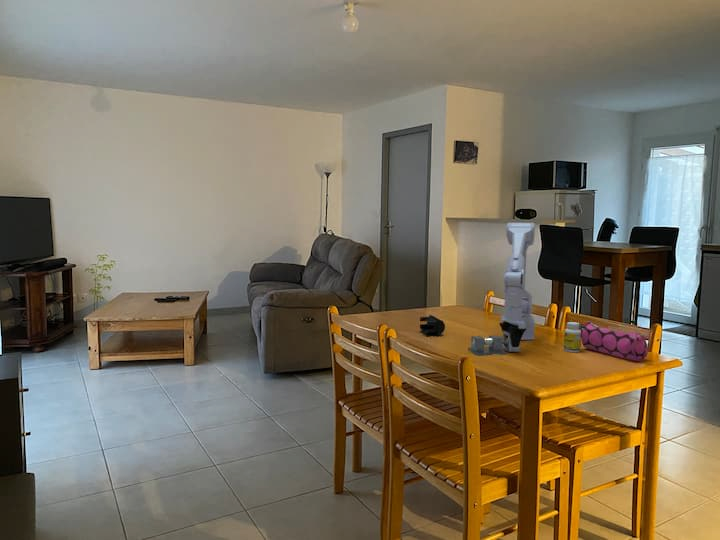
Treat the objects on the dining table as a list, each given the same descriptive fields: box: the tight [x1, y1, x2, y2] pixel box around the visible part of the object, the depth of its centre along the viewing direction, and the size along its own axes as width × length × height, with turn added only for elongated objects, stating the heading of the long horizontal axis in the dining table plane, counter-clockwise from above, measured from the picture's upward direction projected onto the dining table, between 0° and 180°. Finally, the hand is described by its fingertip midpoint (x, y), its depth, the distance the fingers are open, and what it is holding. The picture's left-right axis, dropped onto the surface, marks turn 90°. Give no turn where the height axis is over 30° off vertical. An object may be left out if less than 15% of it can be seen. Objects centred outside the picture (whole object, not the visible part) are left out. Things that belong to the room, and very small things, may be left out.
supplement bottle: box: [563, 321, 582, 353], centre depth 189 cm, size 5×5×10 cm
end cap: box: [419, 314, 446, 338], centre depth 214 cm, size 10×7×7 cm
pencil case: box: [581, 320, 649, 362], centre depth 184 cm, size 21×10×10 cm, turn 32°
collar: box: [502, 330, 521, 353], centre depth 188 cm, size 4×5×6 cm
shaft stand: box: [467, 334, 508, 356], centre depth 187 cm, size 16×8×5 cm, turn 100°
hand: (511, 344), depth 188 cm, fingers closed on collar, 5 cm apart
